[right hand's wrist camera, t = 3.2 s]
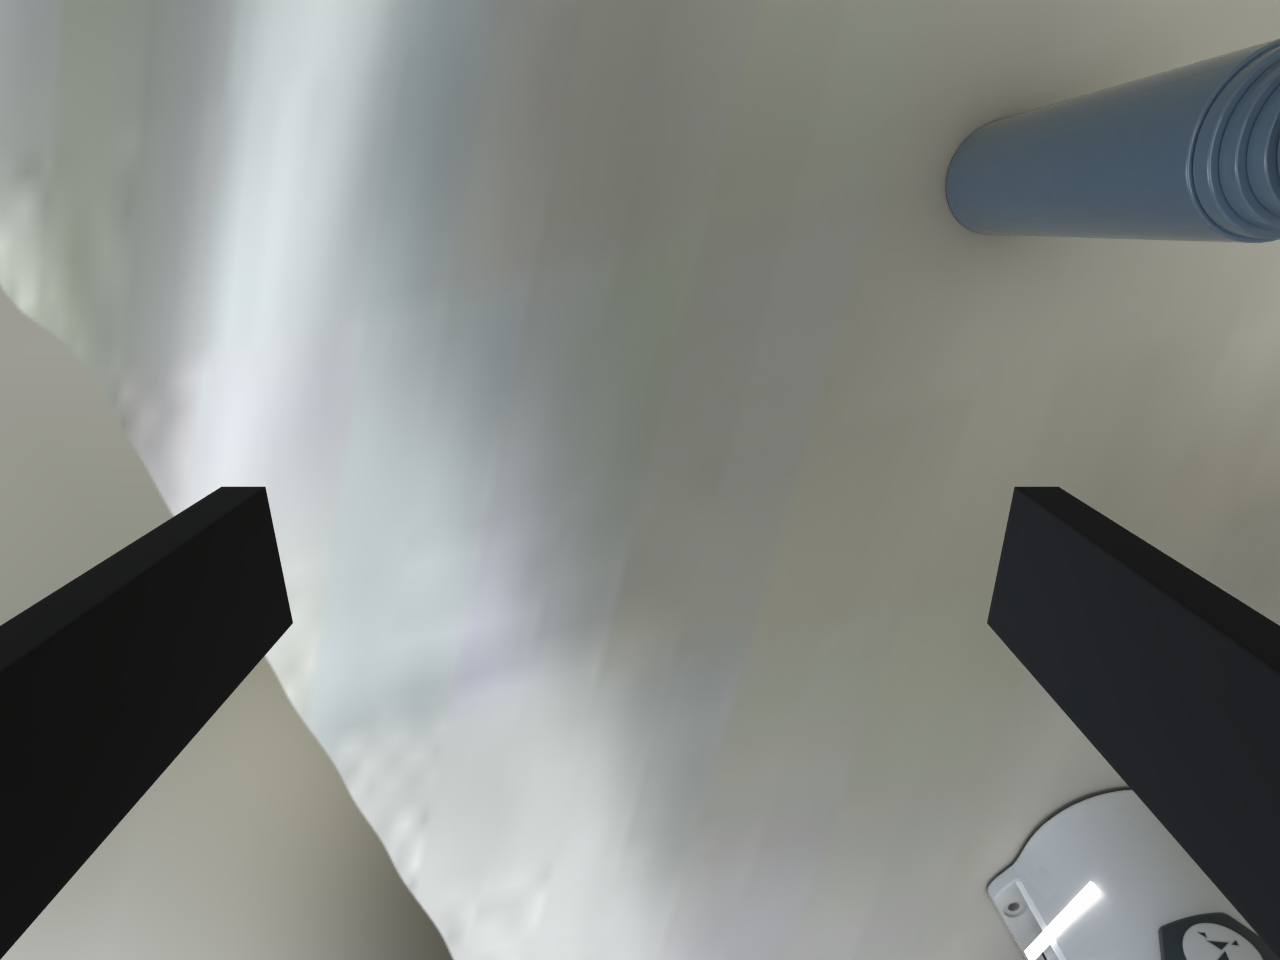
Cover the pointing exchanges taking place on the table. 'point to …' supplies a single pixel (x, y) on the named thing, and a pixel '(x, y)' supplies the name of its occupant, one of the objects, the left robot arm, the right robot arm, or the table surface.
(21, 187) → the table surface
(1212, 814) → the right robot arm
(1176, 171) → the bottle
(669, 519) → the table surface
